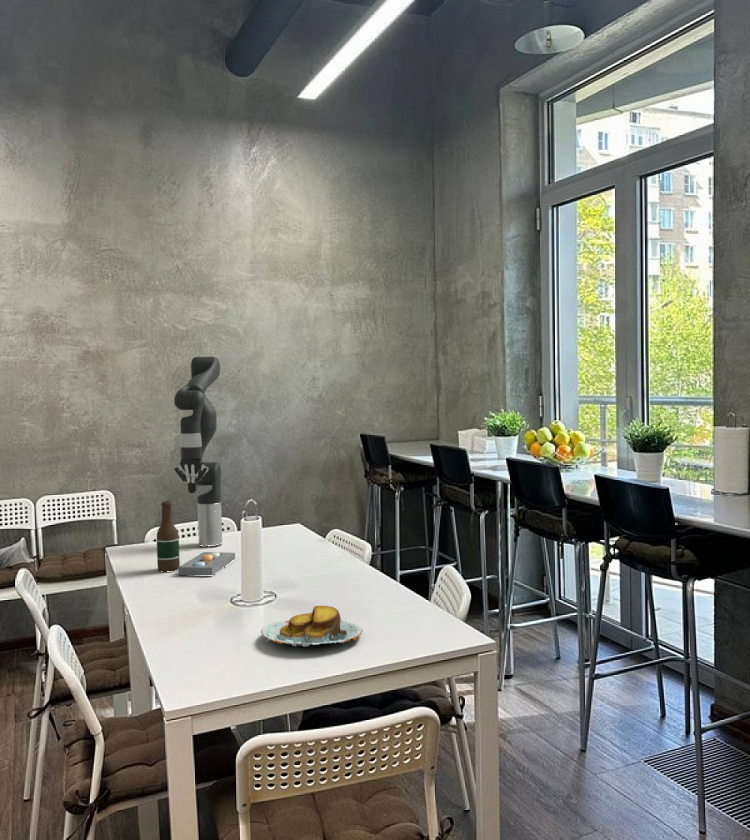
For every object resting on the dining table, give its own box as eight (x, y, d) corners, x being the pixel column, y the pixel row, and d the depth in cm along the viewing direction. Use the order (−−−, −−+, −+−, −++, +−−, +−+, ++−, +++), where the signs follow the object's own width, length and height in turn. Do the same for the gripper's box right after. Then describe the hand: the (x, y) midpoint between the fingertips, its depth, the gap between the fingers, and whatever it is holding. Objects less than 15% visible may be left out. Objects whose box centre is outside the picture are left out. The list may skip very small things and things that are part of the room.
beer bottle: (176, 572, 263) (174, 503, 262) (154, 572, 264) (151, 503, 262) (182, 567, 271) (180, 499, 270) (161, 567, 271) (158, 500, 270)
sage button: (212, 560, 278) (211, 552, 277) (221, 560, 277) (221, 552, 277) (208, 562, 274) (208, 554, 274) (217, 563, 273) (217, 554, 273)
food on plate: (244, 637, 197) (243, 612, 197) (324, 617, 212) (324, 594, 212) (297, 664, 177) (296, 636, 176) (381, 641, 192) (381, 615, 192)
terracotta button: (204, 562, 271) (204, 554, 271) (214, 562, 270) (214, 554, 270) (200, 565, 267) (200, 556, 267) (210, 565, 267) (210, 556, 266)
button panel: (203, 560, 281) (203, 552, 281) (235, 560, 279) (235, 552, 279) (178, 575, 259) (178, 567, 259) (212, 576, 257) (212, 567, 257)
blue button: (196, 570, 264) (196, 561, 264) (206, 570, 263) (206, 561, 263) (192, 572, 260) (192, 564, 260) (202, 573, 260) (202, 564, 260)
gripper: (212, 444, 280) (213, 491, 281) (178, 444, 282) (179, 491, 283) (204, 446, 273) (205, 494, 274) (169, 446, 275) (170, 494, 276)
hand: (192, 492), depth 279 cm, fingers closed
